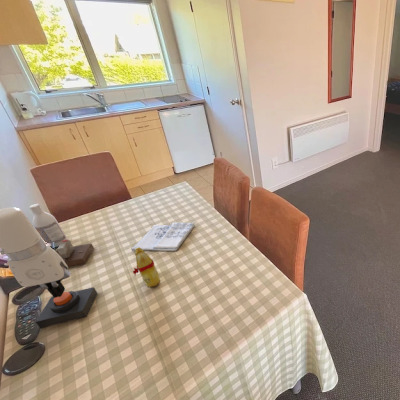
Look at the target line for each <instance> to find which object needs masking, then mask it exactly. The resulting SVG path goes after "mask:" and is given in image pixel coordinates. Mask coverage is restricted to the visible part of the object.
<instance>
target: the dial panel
mask: <svg viewBox="0 0 400 400" xmlns="http://www.w3.org/2000/svg"><path fill="white" fill-rule="evenodd" d="M73 247H74V251H73V252H72V254H71V255H70V257H69V258H64V259H63V258H62V257H61V255H60V254H59V252H58V251H57V249H56V250H55V251H56V252H57V253H58V254H59V255H60V257H61V258H62V259H63V260H64V262H65V263H66V264H67V266H68V268H74V267H78V266H83V265H86V263H87V262H88V261H89V259H90V257H91V255H92V254H93V252H94V251H95V247H94V245H93V243H92V242H91V243H85V244H80V245H73Z"/></svg>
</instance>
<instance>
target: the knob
mask: <svg viewBox="0 0 400 400" xmlns="http://www.w3.org/2000/svg"><path fill="white" fill-rule="evenodd" d="M73 246H74V245H73V244H72V242H71V240H70V239H68V240H63V241H62V243H61V244H60V245H59V247H58V248H56V250H57V251H58V252H59V254H60V255H61V257H62V258H63V259H64V258H69V257H70V255H71V254H72V252H73V251H74V247H73Z"/></svg>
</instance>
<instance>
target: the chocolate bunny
mask: <svg viewBox="0 0 400 400" xmlns="http://www.w3.org/2000/svg"><path fill="white" fill-rule="evenodd" d="M145 251H146V250H143V249H141V248H140V247H138V248H136V250H134V254H135V263H136V267H134V268H133V271H132V274H134V276H136V275H137V274H138V273H139V274H140V276H141V279H142V281H143V282H144V283H145V284H146V286H147V287H148V288H149V287H150V288H151V287H156V286H157V285H158V284H159V283H160V282H161V279H160V274H159V272H158V270H157V268H156V265H155V262H154V260H153V259H152V258H151V256H150V255H149V254H148V253H147V252H145Z"/></svg>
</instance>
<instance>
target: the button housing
mask: <svg viewBox="0 0 400 400" xmlns="http://www.w3.org/2000/svg"><path fill="white" fill-rule="evenodd" d="M68 292H69V293H70V294H71V296H72V299H71V300H70V301H69V302H67V303H65V304H63V305H60V306H58V305H56V304H55V302H54V301H53V300H54V297H53V296H51V297H50V298H49V300H48V301H47V303H46V304H45V306H44V308H43V309H42V310H41V312H40V314H39V315H38V317H37V318H36V320H35V324H36V325H37V326H38V328H40V329H44V328H48V327H52V326H56V325H60V324H64V323H68V322H72V321H77V320H80V319H84V318H87V317H88V315H89V313H90V311H91V309H92V307H93V305H94V302H95V300H96V299H97V296H98V294H99V293H98V291H97V289H96V288H95V287H94V286H92V287H87V288H84V289H80V290H70V291H68Z"/></svg>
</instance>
